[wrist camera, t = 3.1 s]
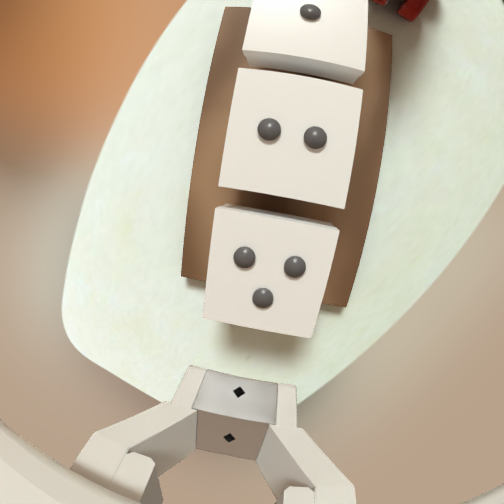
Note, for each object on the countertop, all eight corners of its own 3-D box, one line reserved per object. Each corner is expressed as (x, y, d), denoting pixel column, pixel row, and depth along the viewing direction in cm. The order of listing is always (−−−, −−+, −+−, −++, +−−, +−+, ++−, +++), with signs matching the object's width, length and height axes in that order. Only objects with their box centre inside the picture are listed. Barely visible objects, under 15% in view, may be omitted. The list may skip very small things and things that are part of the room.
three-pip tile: (331, 222, 17) (340, 231, 14) (308, 316, 19) (311, 340, 16) (225, 202, 18) (214, 208, 15) (213, 298, 20) (201, 319, 17)
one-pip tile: (359, 9, 13) (368, -12, 10) (353, 85, 15) (365, 70, 12) (263, -7, 13) (260, -30, 10) (248, 66, 15) (241, 48, 12)
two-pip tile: (351, 101, 15) (363, 88, 12) (335, 203, 17) (345, 209, 14) (245, 82, 15) (237, 66, 13) (228, 184, 17) (217, 186, 15)
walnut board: (387, 41, 16) (400, 25, 12) (343, 300, 22) (351, 319, 19) (228, 13, 16) (220, -6, 13) (186, 271, 23) (171, 285, 20)
